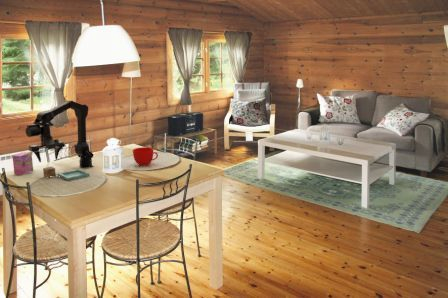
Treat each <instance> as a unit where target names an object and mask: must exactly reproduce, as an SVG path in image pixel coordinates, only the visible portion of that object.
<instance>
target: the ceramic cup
mask: <svg viewBox="0 0 448 298" xmlns="http://www.w3.org/2000/svg"><path fill="white" fill-rule="evenodd" d="M132 154H133V155H132V156H133V158H134V159H133V160H134V162H135V163H136V164H137V165H138V164H139V165H147V166H149V165H150V164H151V162H152V161H156V160H157V159H158V157H159V154H158V152H156V151H154V148H153V147H145V146H144V147H135V148H134V149H132ZM154 154H155V155H156V156H155V158H153V157H154ZM148 164H149V165H148ZM139 165H138V166H139Z"/></svg>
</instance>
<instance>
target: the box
mask: <svg viewBox="0 0 448 298" xmlns="http://www.w3.org/2000/svg"><path fill="white" fill-rule="evenodd" d="M32 153H33V152H31V151H21V152H20V153H16V154H13V155H12V163H13V164H12V166H13V172H14V176H15V175H16V176H24V175H26V174H28V173H30V172H32V171H34V165H33V154H32Z"/></svg>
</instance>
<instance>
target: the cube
mask: <svg viewBox="0 0 448 298" xmlns="http://www.w3.org/2000/svg"><path fill="white" fill-rule="evenodd" d="M42 171H43V177H45V178H46V177H50V176H55V177H56V175H57V174H56V168H55V167H53V166H48V167H47V166H46V167H43V169H42ZM50 178H51V177H50Z"/></svg>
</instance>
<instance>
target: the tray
mask: <svg viewBox="0 0 448 298" xmlns="http://www.w3.org/2000/svg"><path fill="white" fill-rule="evenodd" d="M57 176H58V177H59V176H60V177H59V178H60V179H62V180H65V181H67V182H70V181H74V179H75V180H79V178H80V179H83V178H88V176H89V177H90V173H89V172H86V171H85V170H82V169H80V168H78V169H73V170H68V171H63V172H58V173H57Z"/></svg>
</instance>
